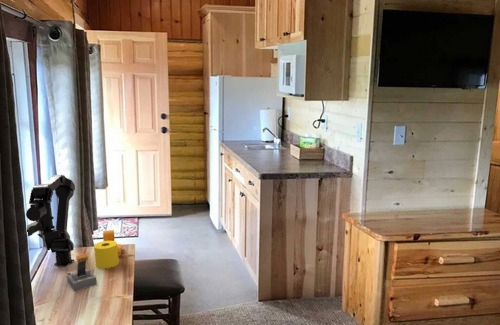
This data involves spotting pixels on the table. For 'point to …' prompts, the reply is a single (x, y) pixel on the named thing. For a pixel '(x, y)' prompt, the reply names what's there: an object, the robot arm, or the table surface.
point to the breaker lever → (81, 264)
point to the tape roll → (106, 254)
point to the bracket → (111, 239)
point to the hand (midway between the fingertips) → (48, 250)
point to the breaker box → (81, 280)
